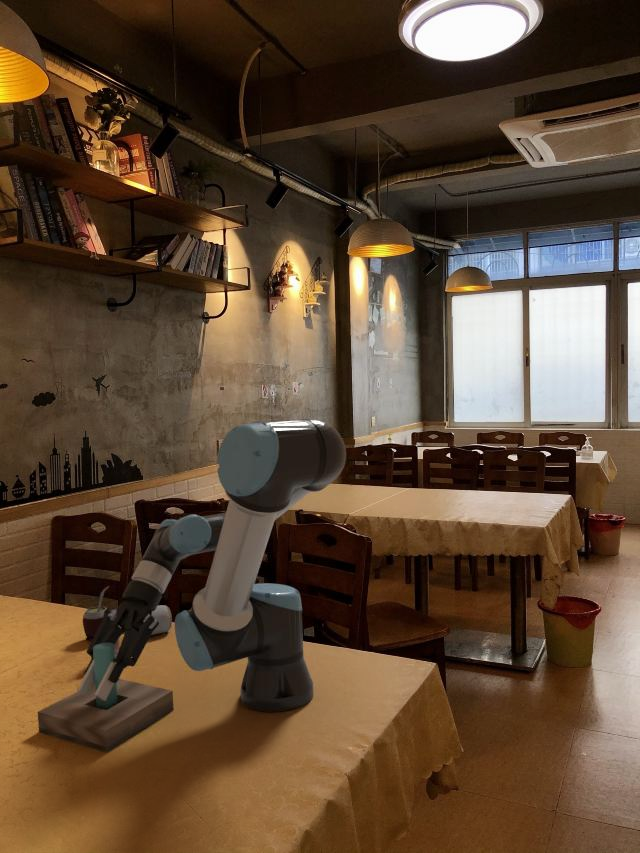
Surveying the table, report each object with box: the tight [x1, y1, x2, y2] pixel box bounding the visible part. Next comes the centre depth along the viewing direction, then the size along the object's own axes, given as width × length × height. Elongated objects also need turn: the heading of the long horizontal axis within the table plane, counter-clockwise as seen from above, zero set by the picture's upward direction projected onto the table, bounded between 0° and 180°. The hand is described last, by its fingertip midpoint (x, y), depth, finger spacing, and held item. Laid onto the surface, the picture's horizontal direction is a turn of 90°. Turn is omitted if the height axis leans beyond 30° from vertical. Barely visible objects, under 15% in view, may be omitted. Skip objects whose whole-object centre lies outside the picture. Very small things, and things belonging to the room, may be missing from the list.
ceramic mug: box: [151, 604, 173, 636], centre depth 188 cm, size 11×8×8 cm
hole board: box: [37, 678, 175, 753], centre depth 137 cm, size 18×18×4 cm
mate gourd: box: [82, 585, 110, 641], centre depth 183 cm, size 8×8×15 cm
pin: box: [93, 643, 118, 710], centre depth 137 cm, size 4×4×12 cm
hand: (91, 695), depth 133 cm, fingers closed on pin, 4 cm apart
